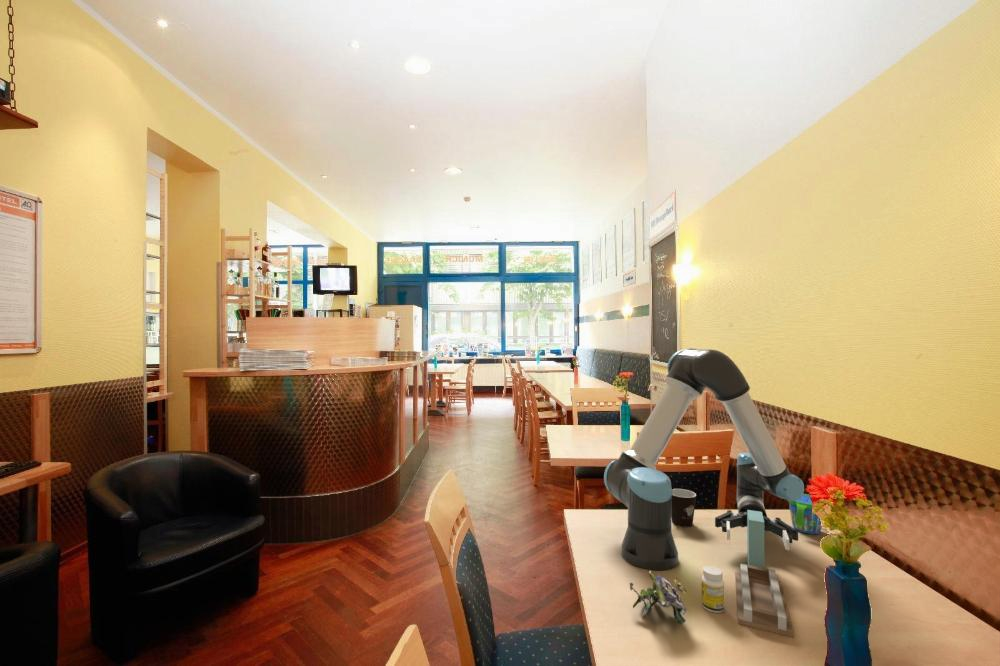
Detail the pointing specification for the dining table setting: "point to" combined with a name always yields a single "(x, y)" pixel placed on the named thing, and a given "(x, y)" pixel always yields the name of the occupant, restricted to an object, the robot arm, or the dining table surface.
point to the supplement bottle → (712, 589)
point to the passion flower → (663, 596)
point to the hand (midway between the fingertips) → (757, 539)
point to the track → (761, 600)
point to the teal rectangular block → (755, 538)
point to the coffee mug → (683, 507)
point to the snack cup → (804, 515)
